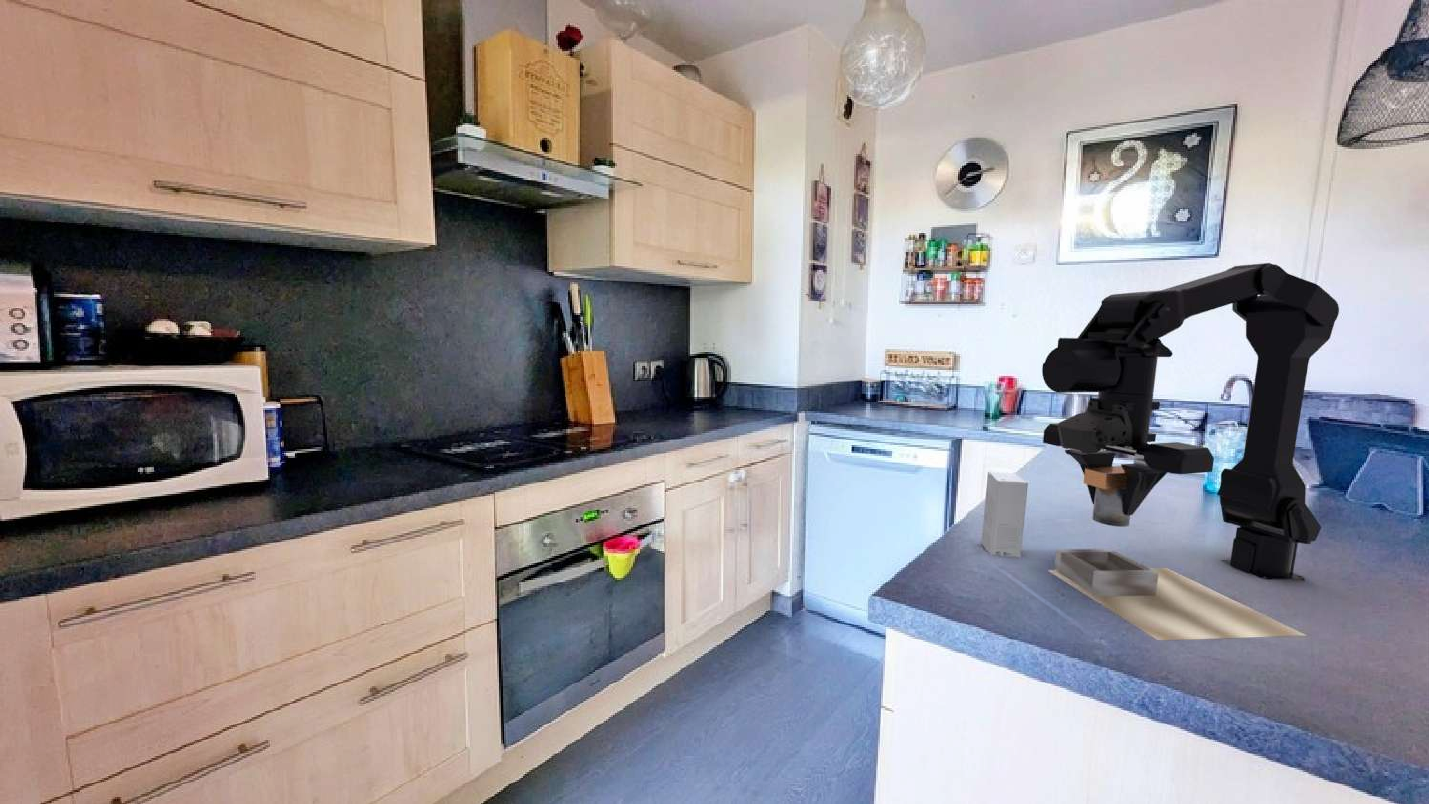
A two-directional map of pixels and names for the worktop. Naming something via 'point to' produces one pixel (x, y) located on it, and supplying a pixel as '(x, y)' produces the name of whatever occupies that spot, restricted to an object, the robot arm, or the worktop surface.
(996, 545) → the skincare box
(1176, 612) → the base
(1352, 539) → the worktop surface
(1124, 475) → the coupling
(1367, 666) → the worktop surface
